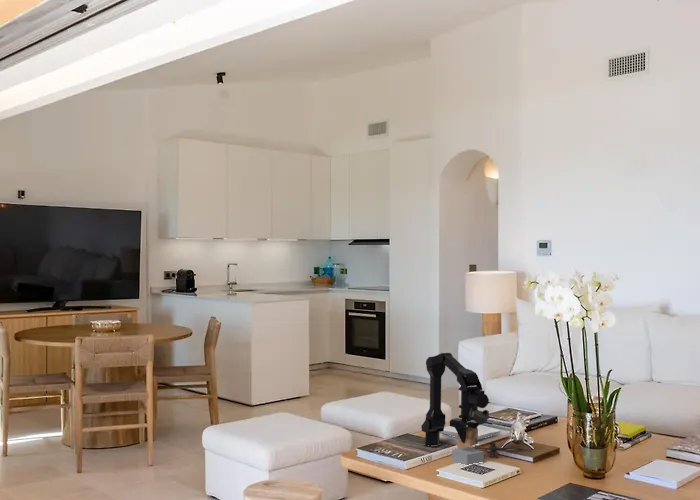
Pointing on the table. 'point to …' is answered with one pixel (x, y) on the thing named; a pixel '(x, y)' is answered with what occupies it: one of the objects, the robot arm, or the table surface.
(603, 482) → the table surface
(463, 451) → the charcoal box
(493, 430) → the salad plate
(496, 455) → the bear figurine
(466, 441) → the walnut cube
